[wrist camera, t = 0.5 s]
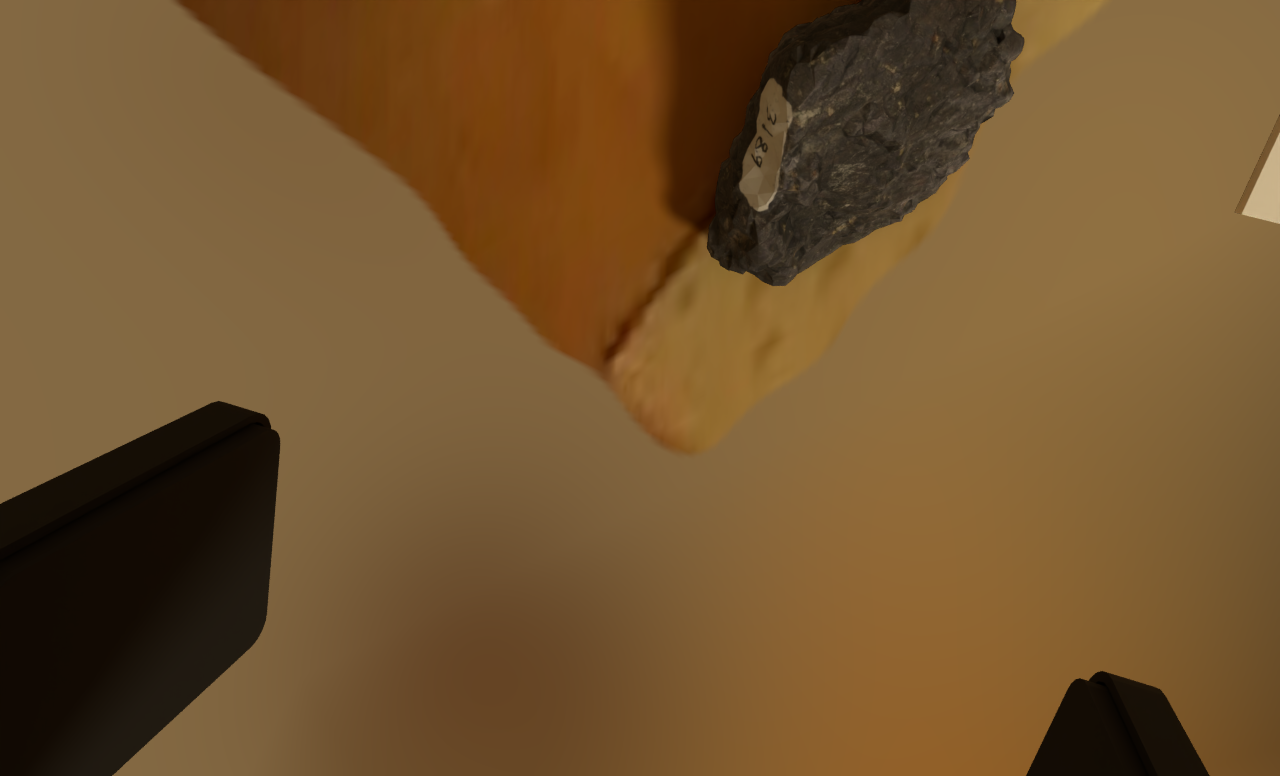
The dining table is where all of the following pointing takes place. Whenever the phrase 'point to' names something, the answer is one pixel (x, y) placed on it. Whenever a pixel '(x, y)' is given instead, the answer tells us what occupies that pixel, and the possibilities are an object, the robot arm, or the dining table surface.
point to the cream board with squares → (1264, 183)
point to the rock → (857, 127)
